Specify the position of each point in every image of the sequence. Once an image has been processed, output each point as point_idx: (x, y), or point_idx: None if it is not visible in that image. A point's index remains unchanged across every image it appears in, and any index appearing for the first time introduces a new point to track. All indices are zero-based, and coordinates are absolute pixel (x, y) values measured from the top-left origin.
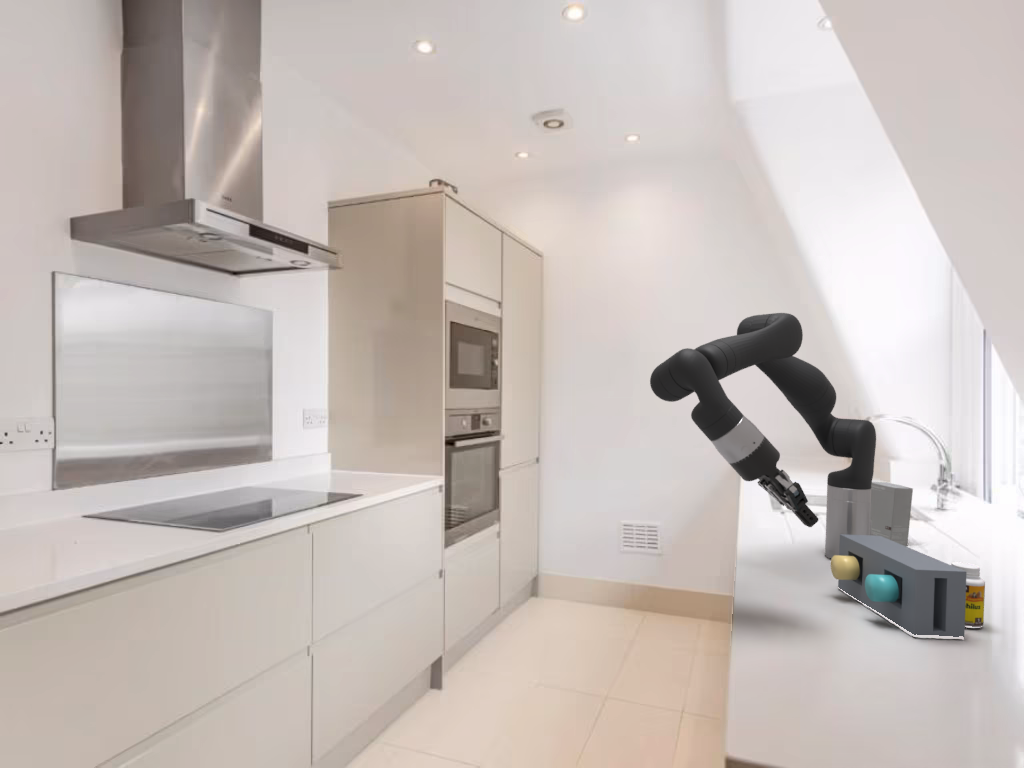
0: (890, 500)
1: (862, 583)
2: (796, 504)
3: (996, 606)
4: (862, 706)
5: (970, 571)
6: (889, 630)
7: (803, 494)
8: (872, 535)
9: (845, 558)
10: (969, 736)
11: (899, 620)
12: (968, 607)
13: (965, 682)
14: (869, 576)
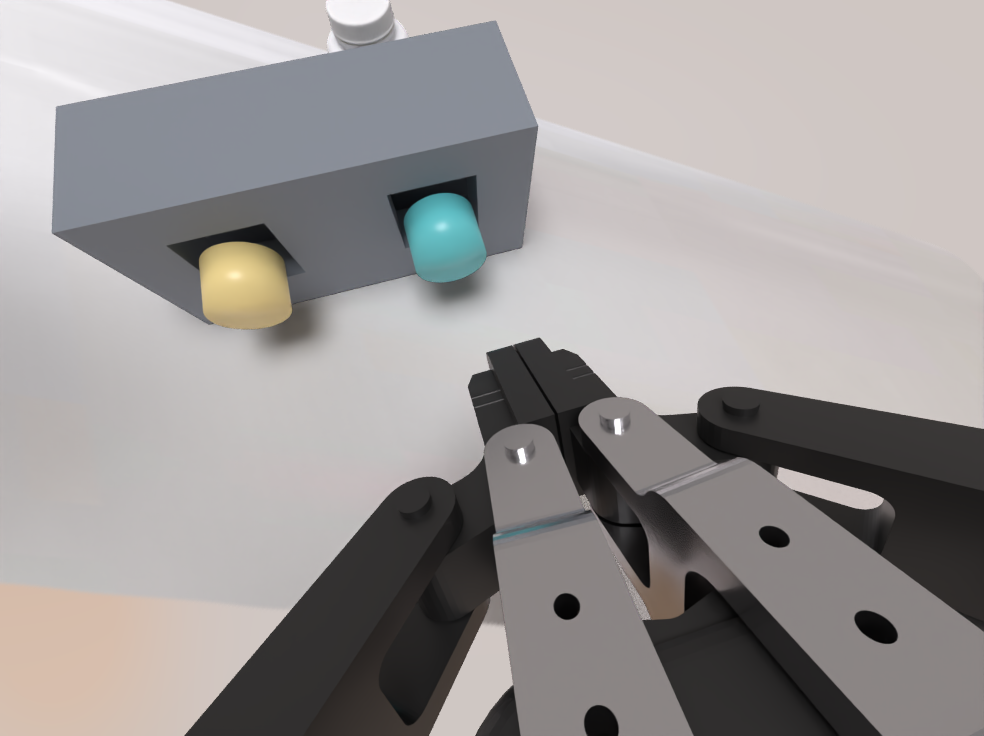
0: None
1: (304, 267)
2: (849, 510)
3: (255, 53)
4: None
5: (391, 11)
6: (491, 280)
7: (966, 438)
8: None
9: (245, 273)
10: (928, 287)
11: None
12: None
13: (711, 228)
14: (433, 250)
